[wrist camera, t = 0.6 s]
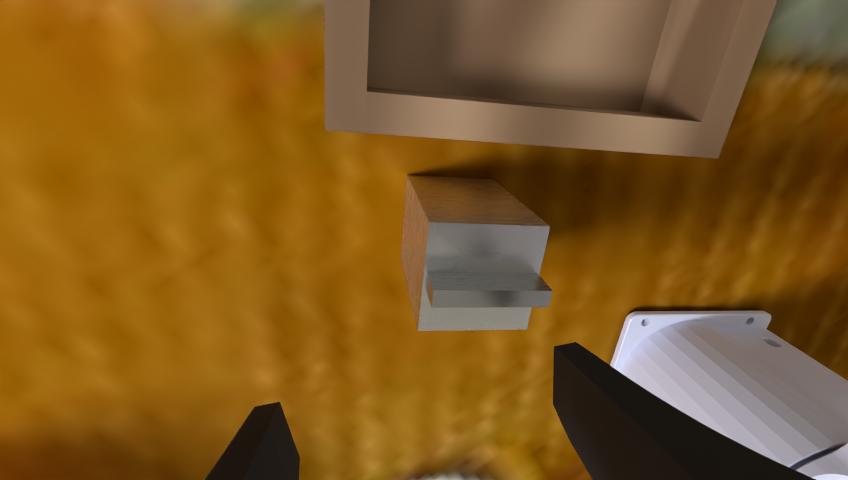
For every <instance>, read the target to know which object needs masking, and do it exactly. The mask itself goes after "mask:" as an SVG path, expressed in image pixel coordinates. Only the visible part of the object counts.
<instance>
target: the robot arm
mask: <svg viewBox="0 0 848 480" xmlns="http://www.w3.org/2000/svg"><path fill="white" fill-rule="evenodd" d="M642 320H644V321H642ZM770 321H771V315H770V314H769V313H767V312H765V311H636V312H632V313H630V314H629V315H628V316H627V318H626V320H625V323H624V326H623V329H622V332H621V335H620V337H619V340H618V343H617V346H616V349H615V352H614V355H613V358H612V361H611V364H610V365H608V364H607V363H606V362H604V361H603V360H601V359H600V358H598V357H597V356H595V355H594V354H593V353H591V352H590V351H588V350H587V349H585V348H584V347H582V346H581V345H579V344H578V343H576V342H574V343H570V344H565V345H560V346H555V347H554V377H553V405H554V407H555V409H556V412H557V414H558V416H559V418H560V421H561V423H562V425H563V427H564V429H565V431H566V434H567V436H568V438H569V440H570V442H571V444H572V445H573V447H574V449H575V450H576V452H577V454H578V455H579V457H580V459H581V460H582V462H583V464H584V466H585V467H586V469H587V471H588V472H589V474H590V476H591V477H592V479H593V480H848V381H847V380H846V379H844V378H842V377H841V376H839V375H838V374H836V373H835V372H833V371H831V370H830V369H828V368H827V367H825V366H824V365H822V364H820V363H819V362H817V361H816V360H814V359H813V358H811V357H810V356H808V355H806V354H805V353H803V352H802V351H800V350H799V349H797V348H795V347H794V346H792V345H791V344H789V343H788V342H786V341H784V340H783V339H781V338H780V337H778V336H777V335H775V334H773V333H772V332H770V331H769V330H767V327H768V325H769V323H770ZM299 464H300V457H299V454H298V452H297V449H296V446H295V443H294V441H293V438H292V435H291V432H290V429H289V427H288V424H287V421H286V418H285V415H284V413H283V410H282V407H281V404H280V402H277V403H272V404H267V405H262V406H257V407H255V408H254V409H253V410H252V411H251V413H250V414H249V416H248V417H247V419H246V420H245V422H244V423H243V425H242V426H241V428H240V429H239V431H238V432H237V434H236V435H235V437H234V438H233V440H232V441H231V442H230V444H229V445H228V447H227V448H226V450H225V451H224V453H223V454H222V456H221V457H220V459H219V460H218V462H217V463H216V464H215V466H214V467H213V469H212V470H211V471H210V473H209V474H208V476H207V477H206V479H205V480H299Z"/></svg>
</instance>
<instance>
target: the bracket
mask: <svg viewBox="0 0 848 480" xmlns="http://www.w3.org/2000/svg"><path fill="white" fill-rule="evenodd" d="M549 230H550V226H549V225H548V224H547V223H546V222H544V221H543V220H542V219H541V218H539V217H538V216H537V215H536V214H535V213H533V212H532V211H531V210H530V209H529V208H527V207H526V206H525V205H524V204H522V203H521V202H520V201H519V200H518V199H516V198H515V197H514V196H513V195H512V194H510V193H509V192H508V191H507V190H505V189H504V188H503V187H502V186H501V185H499V184H498V183H497V182H496V181H495V180H493V179H477V178H458V177H440V176H422V175H407V182H406V195H405V208H404V221H403V234H402V247H401V260H402V264H403V268H404V273H405V277H406V281H407V286H408V290H409V294H410V299H411V303H412V308H413V312H414V316H415V321H416V325H417V329H418V331H445V330H516V329H527V326H528V322H529V317H530V313H531V309H532V307H549V303H550V299H551V295H552V290H551V288H550V287H549V286H548V285H547V284H546V283H545V282H544V280H543V279H542V278H541V277H540V276H539V274H540V269H541V265H542V261H543V256H544V252H545V247H546V243H547V239H548V234H549Z"/></svg>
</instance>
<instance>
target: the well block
mask: <svg viewBox="0 0 848 480" xmlns="http://www.w3.org/2000/svg"><path fill="white" fill-rule="evenodd" d="M776 3H777V0H325V130H331V131H345V132H358V133H372V134H386V135H400V136H413V137H427V138H441V139H455V140H469V141H482V142H496V143H510V144H524V145H538V146H551V147H565V148H579V149H593V150H606V151H620V152H634V153H648V154H662V155H675V156H689V157H703V158H717V159H718V158H719V155H720V152H721V150H722V147H723V144H724V142H725V139H726V136H727V134H728V131H729V128H730V126H731V123H732V120H733V118H734V115H735V112H736V110H737V107H738V104H739V102H740V99H741V96H742V94H743V91H744V88H745V86H746V83H747V80H748V78H749V75H750V72H751V69H752V67H753V64H754V61H755V59H756V56H757V53H758V51H759V48H760V45H761V43H762V40H763V37H764V35H765V32H766V29H767V27H768V24H769V21H770V19H771V16H772V13H773V11H774V8H775V5H776Z"/></svg>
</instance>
